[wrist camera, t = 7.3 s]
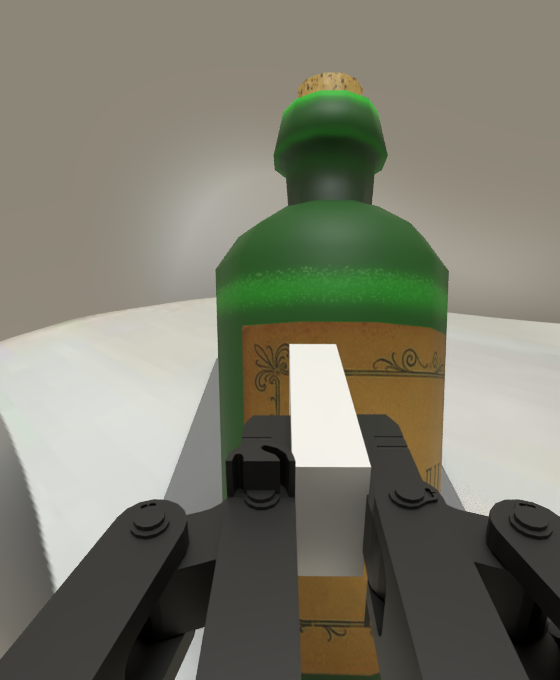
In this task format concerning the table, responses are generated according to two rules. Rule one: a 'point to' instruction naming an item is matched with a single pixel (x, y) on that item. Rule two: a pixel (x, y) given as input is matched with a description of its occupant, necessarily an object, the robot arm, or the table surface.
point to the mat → (205, 459)
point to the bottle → (334, 323)
